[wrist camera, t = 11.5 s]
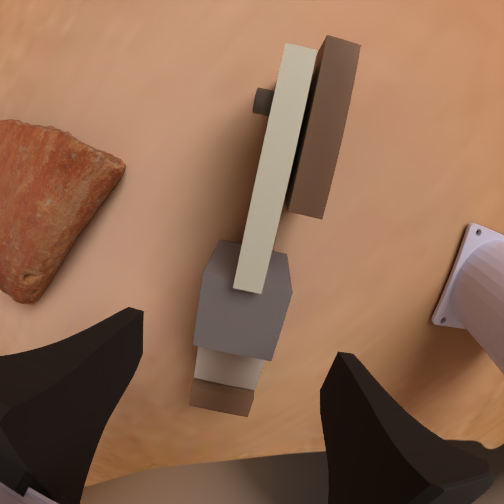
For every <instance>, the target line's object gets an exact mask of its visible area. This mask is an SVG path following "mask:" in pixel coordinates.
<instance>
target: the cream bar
mask: <svg viewBox="0 0 504 504" xmlns="http://www.w3.org/2000/svg"><path fill="white" fill-rule="evenodd" d="M316 54H317V50H314V49H310V48H306V47H302V46H298V45H293V44H289V43H286V44H285V48H284V53H283V57H282V61H281V66H280V70H279V75H278V79H277V84H276V88H275V91H272V90H267V89H262V88H258V89H257V92H256V95H255V100H254V105H253V113H256V114H261V115H266V116H269V120H268V124H267V129H266V133H265V138H264V143H263V147H262V152H261V156H260V161H259V166H258V170H257V175H256V180H255V184H254V189H253V194H252V199H251V203H250V208H249V213H248V218H247V222H246V227H245V232H244V237H243V242H242V246H241V251H240V256H239V261H238V266H237V271H236V275H235V280H234V285H233V288H235V289H240V290H244V291H249V292H254V293H259V294H262V290H263V286H264V281H265V277H266V273H267V269H268V265H269V261H270V257H271V253H272V249H273V245H274V241H275V236H276V232H277V228H278V224H279V220H280V215H281V211H282V207H283V203H284V198H285V194H286V190H287V186H288V181H289V177H290V173H291V168H292V164H293V160H294V155H295V151H296V146H297V142H298V137H299V133H300V128H301V124H302V119H303V115H304V110H305V106H306V101H307V97H308V92H309V87H310V83H311V78H312V73H313V69H314V64H315V59H316Z"/></svg>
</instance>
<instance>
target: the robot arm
mask: <svg viewBox="0 0 504 504" xmlns="http://www.w3.org/2000/svg"><path fill="white" fill-rule="evenodd" d="M477 230H478V233H477V234H476V231H477ZM143 313H144V311H141V310H137V309H134V308H130V307H128V308H126V309H124V310H122V311H120V312H118V313H116V314H114V315H112V316H111V317H109V318H107V319H105V320H103V321H101V322H99V323H98V324H96V325H94V326H92V327H90V328H88V329H86V330H84V331H81V332H79V333H77V334H75V335H73V336H71V337H69V338H66V339H64V340H61V341H59V342H56V343H53V344H50V345H47V346H44V347H41V348H38V349H34V350H30V351H25V352H21V353H17V354H11V355H5V356H0V504H80V500H81V496H82V492H83V488H84V484H85V481H86V478H87V474H88V471H89V468H90V465H91V462H92V459H93V456H94V453H95V451H96V448H97V445H98V443H99V440H100V438H101V435H102V433H103V430H104V428H105V425H106V423H107V421H108V419H109V417H110V416H111V414H112V412H113V410H114V409H115V407H116V405H117V404H118V402H119V400H120V398H121V397H122V395H123V393H124V392H125V390H126V388H127V386H128V385H129V383H130V381H131V379H132V378H133V376H134V374H135V371H136V369H137V367H138V364H139V362H140V359H141V357H142V354H143ZM443 317H444V318H443ZM442 318H443V320H441V319H442ZM431 320H432V322H433V323H434V324H435V325H440V326H447V327H454V328H461V329H467V330H468V332H469V333H470V334H471V335H472V336H473V337H474V339H475V340H476V341H477V342H478V343H479V345H480V346H481V347H482V348H483V349H484V351H485V352H486V353H487V354H488V356H489V357H490V358H491V359H492V360H493V362H494V363H495V364H496V366H497V367H498V368H499V369H500V371H501V372H502V373H503V374H504V235H502V234H500V233H497V232H495V231H493V230H490V229H488V228H485V227H483V226H480V225H478V224H475V223H470V224H469V225H468V226H467V229H466V232H465V235H464V238H463V241H462V244H461V247H460V250H459V252H458V255H457V258H456V261H455V263H454V266H453V269H452V271H451V274H450V276H449V279H448V281H447V284H446V286H445V288H444V291H443V293H442V295H441V298H440V300H439V302H438V305H437V307H436V309H435V311H434V313H433V315H432V318H431ZM320 414H321V421H322V427H323V434H324V440H325V446H326V453H327V459H328V469H329V497H328V504H471V503H472V502H474V501H475V500H476V499H477V498H479V497H480V496H481V495H482V494H483V493H485V492H486V491H487V490H488V489H489V488H490V486H491V485H492V484H493V481H494V479H495V478H494V475H493V473H492V470H491V468H490V466H489V463H488V462H487V460H485V459H482V458H480V457H477V456H475V455H472V454H470V453H468V452H465V451H463V450H461V449H459V448H457V447H456V446H454V445H452V444H450V443H448V442H447V441H445V440H443V439H442V438H440V437H439V436H437V435H436V434H434V433H433V432H431V431H430V430H428V429H427V428H426V427H424V426H423V425H422V424H420V423H419V422H418V421H417V420H416V419H414V418H413V417H412V416H411V415H410V414H408V413H407V412H406V411H405V410H404V409H403V408H402V407H401V406H400V405H399V404H398V403H397V402H396V401H395V400H394V399H393V398H392V397H391V396H390V395H389V394H388V393H387V392H386V391H385V390H384V388H383V387H382V386H381V385H380V384H379V383H378V382H377V381H376V379H375V378H374V377H373V376H372V375H371V374H370V372H369V371H368V370H367V369H366V368H365V367H364V365H363V364H362V363H361V362H360V361H359V360H358V359H357V358H356V356H355V355H354V354H351V353H344V352H338V353H337V355H336V357H335V359H334V362H333V364H332V366H331V368H330V370H329V373H328V375H327V377H326V379H325V381H324V383H323V385H322V387H321V389H320Z"/></svg>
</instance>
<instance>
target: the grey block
mask: <svg viewBox="0 0 504 504" xmlns="http://www.w3.org/2000/svg"><path fill="white" fill-rule="evenodd" d="M241 246H242V244H238V243H233V242H228V241H224V240H220V241H219V243H218V245H217V247H216V249H215V251H214V253H213V255H212V257H211V259H210V260H209V262H208V264H207V266H206V268H205V270H204V272H203V276H202V283H201V289H200V296H199V303H198V310H197V317H196V324H195V331H194V339H193V345H195V346H199V347H204V348H208V349H212V350H217V351H222V352H226V353H231V354H236V355H241V356H246V357H251V358H256V359H262V360H267V361H271V360H272V357H273V354H274V351H275V348H276V345H277V341H278V338H279V335H280V332H281V329H282V325H283V322H284V319H285V316H286V312H287V309H288V306H289V302H290V299H291V296H292V286H291V279H290V272H289V265H288V258H287V254H284V253H280V252H275V251H272V253H271V257H270V261H269V265H268V269H267V273H266V277H265V281H264V286H263V290H262V294H259V293H254V292H249V291H244V290H240V289H235V288H233V285H234V280H235V275H236V271H237V266H238V261H239V256H240V251H241Z"/></svg>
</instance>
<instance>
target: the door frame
mask: <svg viewBox="0 0 504 504" xmlns="http://www.w3.org/2000/svg"><path fill="white" fill-rule="evenodd" d="M360 47H361V45H359V44H355V43H352V42H349V41H346V40H343V39H339V38H336V37H332V36H329V35H327V36H326V38H325V40H324V42H323V44H322V46H321V48H320V49H319V51H318V53H317V55H316V59H315V64H314V69H313V73H312V78H311V83H310V87H309V92H308V97H307V101H306V106H305V110H304V115H303V119H302V124H301V128H300V133H299V137H298V142H297V146H296V151H295V155H294V160H293V164H292V168H291V173H290V177H289V181H288V186H287V190H286V194H285V202H286V205H287V209H288V212H292V213H297V214H301V215H305V216H309V217H314V218H318V219H322V218H323V214H324V210H325V207H326V203H327V199H328V195H329V191H330V187H331V183H332V179H333V175H334V171H335V167H336V163H337V159H338V154H339V150H340V146H341V141H342V137H343V132H344V128H345V123H346V119H347V114H348V109H349V105H350V100H351V95H352V90H353V85H354V80H355V74H356V69H357V64H358V58H359V53H360ZM263 363H264V360H262V359H256V358H251V357H246V356H241V355H236V354H231V353H226V352H222V351H217V350H212V349H208V348H204V347H199V346H198V351H197V358H196V365H195V372H194V380H193V384H192V388H191V396H190V405H191V406H196V407H200V408H204V409H209V410H213V411H218V412H223V413H228V414H234V415H239V416H245V417H248V414H249V411H250V408H251V405H252V402H253V399H254V390H255V389H256V386H257V383H258V379H259V376H260V373H261V370H262V367H263Z"/></svg>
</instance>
